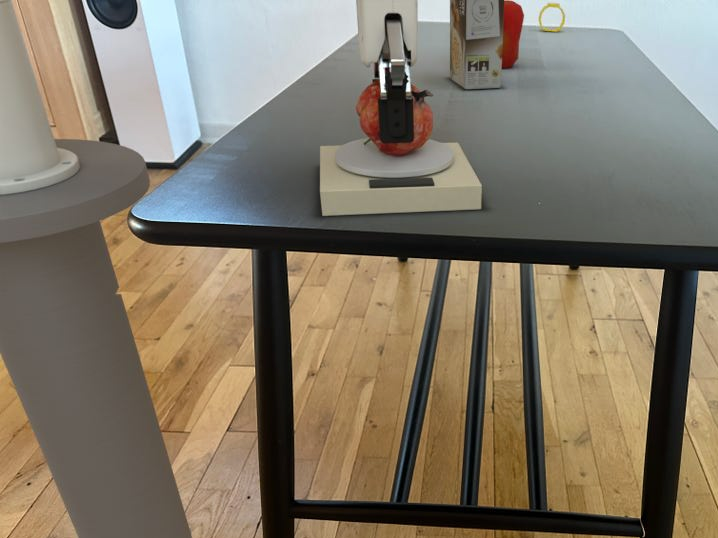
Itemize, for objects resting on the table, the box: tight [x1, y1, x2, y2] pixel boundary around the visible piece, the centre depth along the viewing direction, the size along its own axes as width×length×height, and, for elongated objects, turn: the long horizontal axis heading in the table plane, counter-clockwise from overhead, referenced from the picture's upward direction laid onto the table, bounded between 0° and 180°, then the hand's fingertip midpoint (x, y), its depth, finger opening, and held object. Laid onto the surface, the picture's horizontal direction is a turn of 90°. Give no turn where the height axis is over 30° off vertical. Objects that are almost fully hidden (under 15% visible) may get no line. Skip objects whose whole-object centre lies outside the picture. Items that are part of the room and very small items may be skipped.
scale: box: [319, 137, 483, 217], centre depth 70 cm, size 15×14×3 cm
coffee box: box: [449, 0, 505, 90], centre depth 108 cm, size 9×6×16 cm
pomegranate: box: [355, 80, 435, 156], centre depth 68 cm, size 7×7×10 cm
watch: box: [538, 2, 566, 33], centre depth 160 cm, size 6×3×6 cm, turn 92°
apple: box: [502, 0, 525, 69], centre depth 122 cm, size 9×8×12 cm
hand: (393, 129), depth 68 cm, fingers closed on pomegranate, 7 cm apart
